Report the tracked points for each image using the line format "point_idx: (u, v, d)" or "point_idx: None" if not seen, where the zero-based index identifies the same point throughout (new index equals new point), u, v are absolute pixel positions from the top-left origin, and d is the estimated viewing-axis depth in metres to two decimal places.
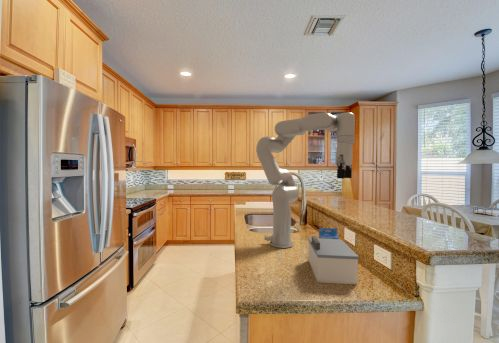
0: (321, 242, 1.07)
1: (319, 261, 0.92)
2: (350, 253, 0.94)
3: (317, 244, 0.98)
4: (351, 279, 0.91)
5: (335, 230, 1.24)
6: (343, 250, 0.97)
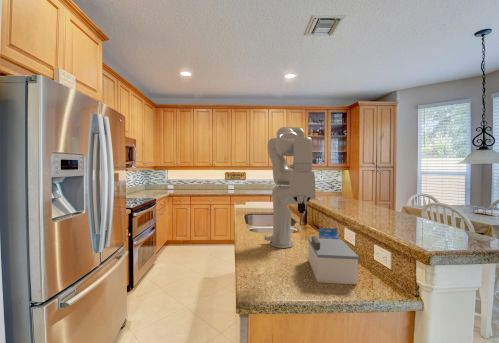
0: (321, 242, 1.07)
1: (319, 261, 0.92)
2: (350, 253, 0.94)
3: (317, 244, 0.98)
4: (351, 279, 0.91)
5: (335, 230, 1.24)
6: (343, 250, 0.97)
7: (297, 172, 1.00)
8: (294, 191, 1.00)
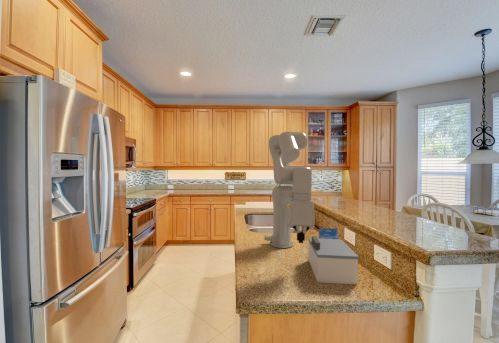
0: (321, 242, 1.07)
1: (319, 261, 0.92)
2: (350, 253, 0.94)
3: (317, 244, 0.98)
4: (351, 279, 0.91)
5: (335, 230, 1.24)
6: (343, 250, 0.97)
7: (296, 202, 1.01)
8: (293, 221, 1.01)
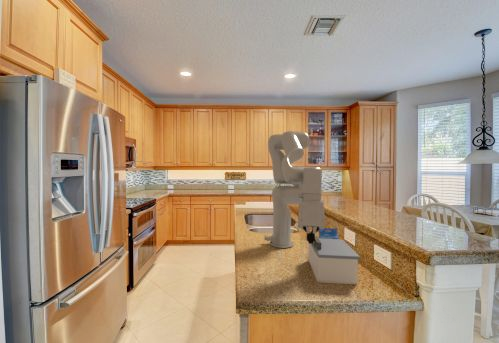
0: (322, 242, 1.07)
1: (319, 261, 0.92)
2: (351, 253, 0.94)
3: (318, 244, 0.98)
4: (351, 279, 0.91)
5: (335, 230, 1.24)
6: (344, 250, 0.97)
7: (306, 202, 1.00)
8: (303, 221, 1.00)
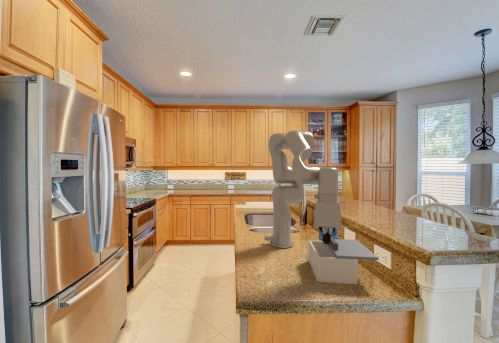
0: (338, 243, 1.07)
1: (319, 261, 0.92)
2: (369, 254, 0.93)
3: (335, 245, 0.97)
4: (351, 279, 0.91)
5: (335, 230, 1.24)
6: (361, 251, 0.97)
7: (323, 203, 1.00)
8: (320, 222, 1.00)
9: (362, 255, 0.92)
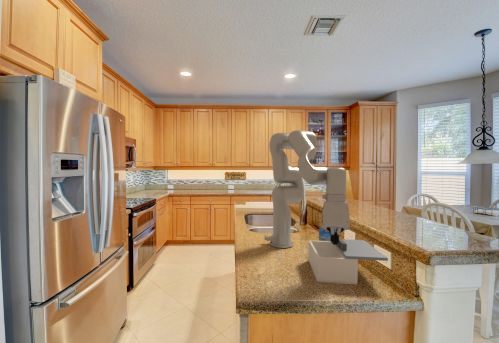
0: (345, 243, 1.06)
1: (319, 261, 0.92)
2: (378, 254, 0.93)
3: (344, 245, 0.97)
4: (351, 279, 0.91)
5: (335, 230, 1.24)
6: (370, 251, 0.96)
7: (331, 203, 1.00)
8: (328, 222, 1.00)
9: (371, 255, 0.92)
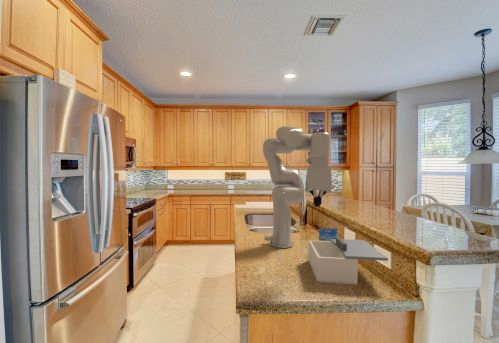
0: (345, 243, 1.06)
1: (319, 261, 0.92)
2: (378, 254, 0.93)
3: (344, 245, 0.97)
4: (351, 279, 0.91)
5: (335, 230, 1.24)
6: (370, 251, 0.96)
7: (314, 167, 1.03)
8: (311, 185, 1.03)
9: (371, 255, 0.92)
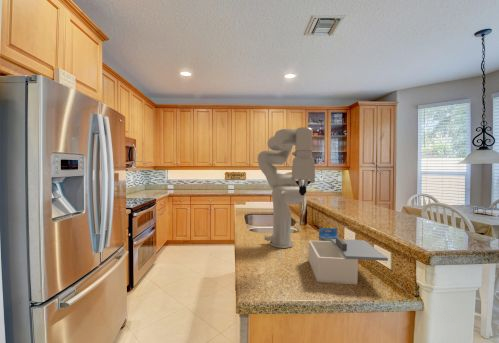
0: (345, 243, 1.06)
1: (319, 261, 0.92)
2: (378, 254, 0.93)
3: (344, 245, 0.97)
4: (351, 279, 0.91)
5: (335, 230, 1.24)
6: (370, 251, 0.96)
7: (299, 158, 1.13)
8: (296, 175, 1.13)
9: (371, 255, 0.92)
